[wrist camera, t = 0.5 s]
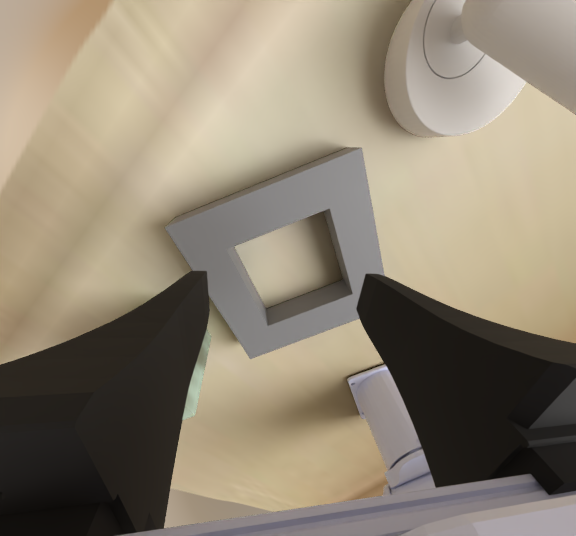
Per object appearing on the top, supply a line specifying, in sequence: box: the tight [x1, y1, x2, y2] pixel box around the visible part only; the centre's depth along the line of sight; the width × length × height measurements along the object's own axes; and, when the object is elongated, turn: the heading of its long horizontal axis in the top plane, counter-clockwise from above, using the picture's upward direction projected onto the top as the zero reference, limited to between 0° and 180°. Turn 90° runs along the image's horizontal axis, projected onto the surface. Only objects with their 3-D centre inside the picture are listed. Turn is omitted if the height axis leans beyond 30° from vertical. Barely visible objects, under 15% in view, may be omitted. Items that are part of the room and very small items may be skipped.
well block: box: [165, 147, 385, 359], centre depth 20 cm, size 14×14×2 cm
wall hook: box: [384, 0, 576, 137], centre depth 12 cm, size 9×10×10 cm
